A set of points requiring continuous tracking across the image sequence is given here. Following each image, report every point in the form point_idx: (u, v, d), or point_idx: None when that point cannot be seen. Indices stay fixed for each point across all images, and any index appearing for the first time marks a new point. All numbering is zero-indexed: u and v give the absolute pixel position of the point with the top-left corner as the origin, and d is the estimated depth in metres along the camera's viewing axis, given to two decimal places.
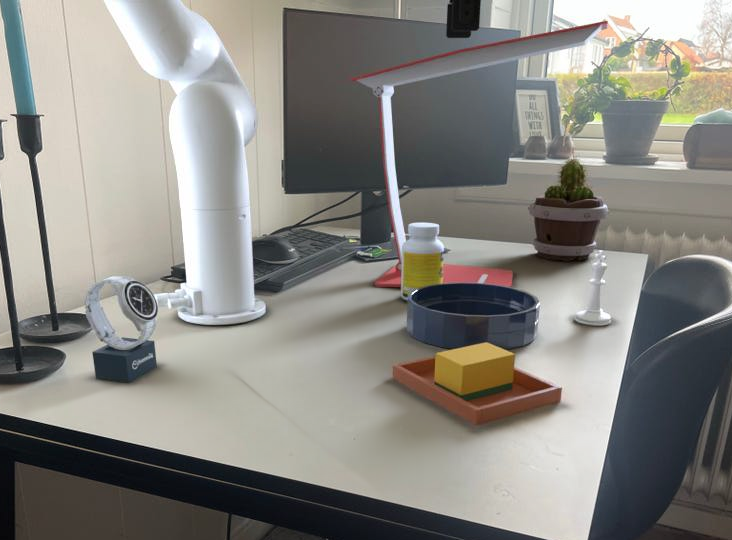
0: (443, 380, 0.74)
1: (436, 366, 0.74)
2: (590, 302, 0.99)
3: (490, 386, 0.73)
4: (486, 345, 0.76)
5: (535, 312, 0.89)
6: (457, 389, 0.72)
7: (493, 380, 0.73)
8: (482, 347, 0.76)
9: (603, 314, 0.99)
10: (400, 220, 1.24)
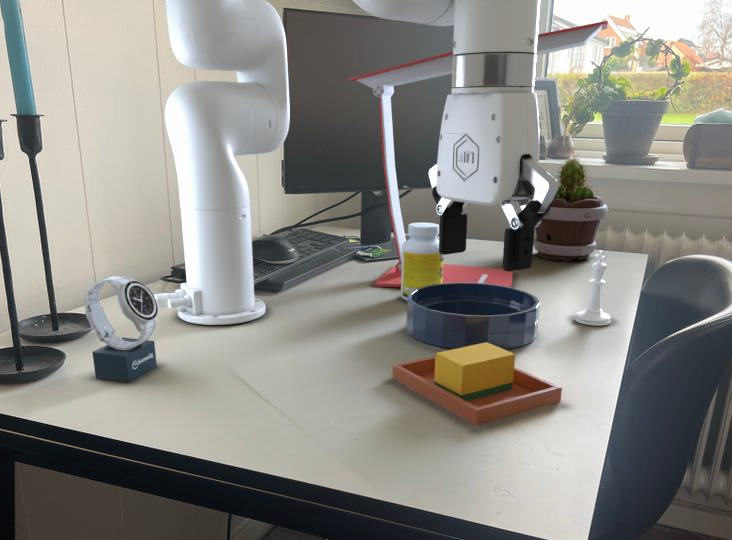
0: (443, 380, 0.74)
1: (436, 366, 0.74)
2: (590, 302, 0.99)
3: (490, 386, 0.73)
4: (486, 345, 0.76)
5: (535, 312, 0.89)
6: (457, 389, 0.72)
7: (493, 380, 0.73)
8: (482, 347, 0.76)
9: (603, 314, 0.99)
10: (400, 220, 1.24)
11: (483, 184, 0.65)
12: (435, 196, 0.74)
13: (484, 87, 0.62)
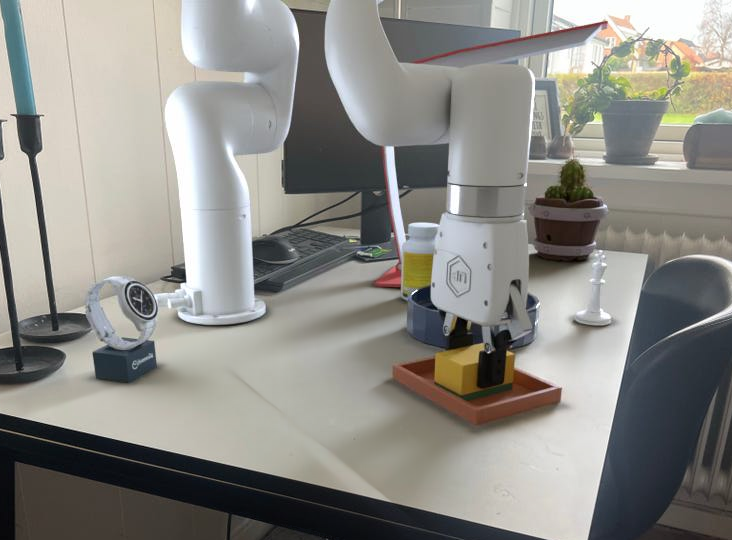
0: (443, 380, 0.74)
1: (436, 366, 0.74)
2: (590, 302, 0.99)
3: None
4: None
5: (535, 312, 0.89)
6: (457, 389, 0.72)
7: None
8: (482, 347, 0.76)
9: (603, 314, 0.99)
10: (400, 220, 1.24)
11: (475, 305, 0.68)
12: (442, 315, 0.76)
13: (476, 217, 0.66)
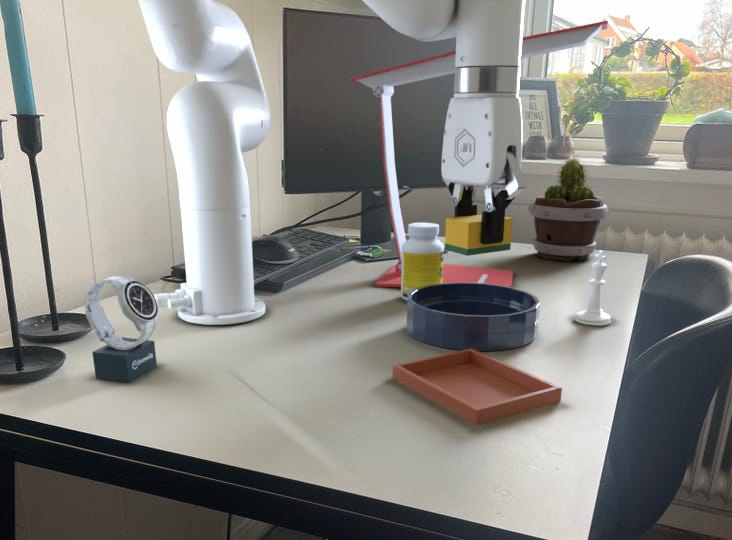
0: (452, 240, 0.88)
1: (446, 229, 0.89)
2: (590, 302, 0.99)
3: (491, 244, 0.88)
4: None
5: (535, 312, 0.89)
6: (464, 244, 0.86)
7: None
8: None
9: (603, 314, 0.99)
10: (400, 220, 1.23)
11: (478, 169, 0.83)
12: (451, 190, 0.91)
13: (479, 93, 0.80)
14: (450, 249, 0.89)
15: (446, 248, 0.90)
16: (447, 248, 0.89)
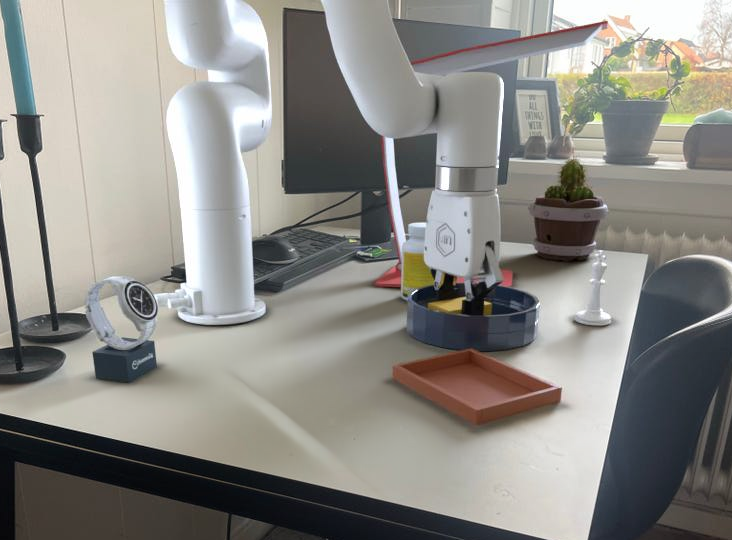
0: None
1: None
2: (590, 302, 0.99)
3: None
4: None
5: (535, 312, 0.89)
6: None
7: None
8: None
9: (603, 314, 0.99)
10: (400, 220, 1.23)
11: (458, 262, 0.86)
12: (433, 274, 0.94)
13: (458, 192, 0.84)
14: None
15: None
16: None
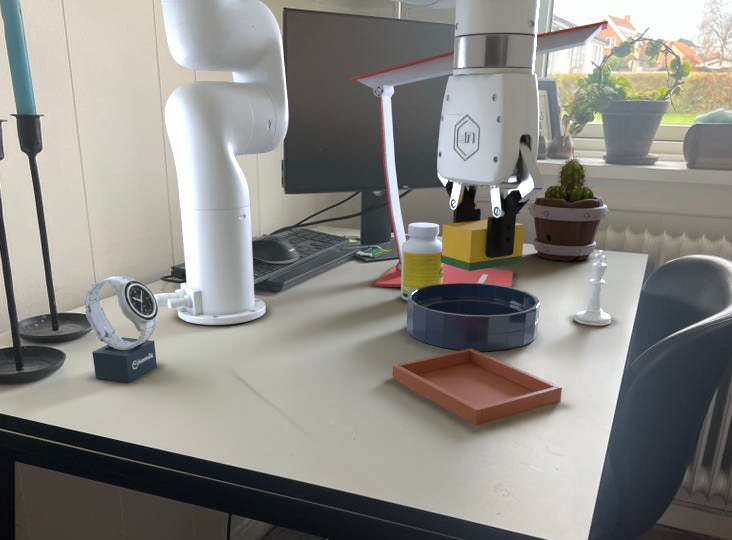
0: (451, 251, 0.72)
1: (443, 238, 0.72)
2: (590, 302, 0.99)
3: (499, 257, 0.71)
4: None
5: (535, 312, 0.89)
6: (465, 257, 0.70)
7: None
8: None
9: (603, 314, 0.99)
10: (400, 220, 1.24)
11: (483, 164, 0.66)
12: (449, 191, 0.74)
13: (485, 68, 0.64)
14: (448, 262, 0.72)
15: (443, 261, 0.73)
16: (444, 261, 0.73)
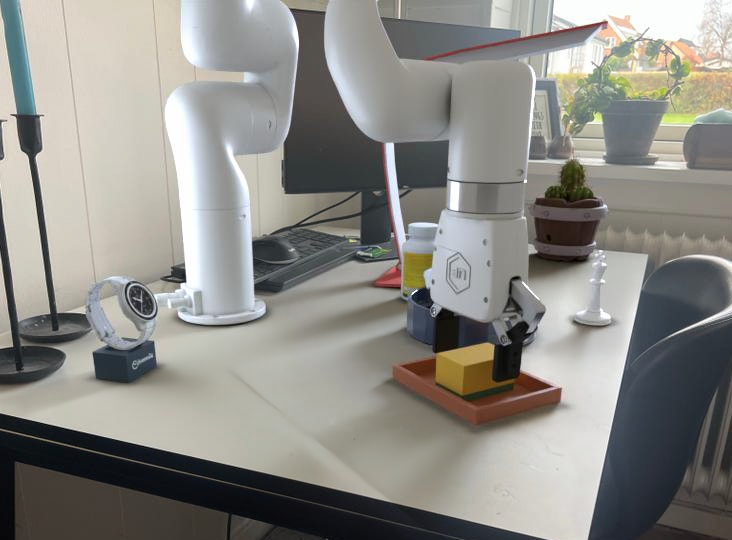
0: (444, 380, 0.74)
1: (437, 366, 0.74)
2: (590, 302, 0.99)
3: (491, 386, 0.73)
4: (488, 345, 0.76)
5: None
6: (458, 389, 0.72)
7: None
8: (483, 347, 0.76)
9: (603, 314, 0.99)
10: (400, 220, 1.24)
11: (474, 301, 0.68)
12: (430, 297, 0.78)
13: (476, 214, 0.65)
14: None
15: None
16: None
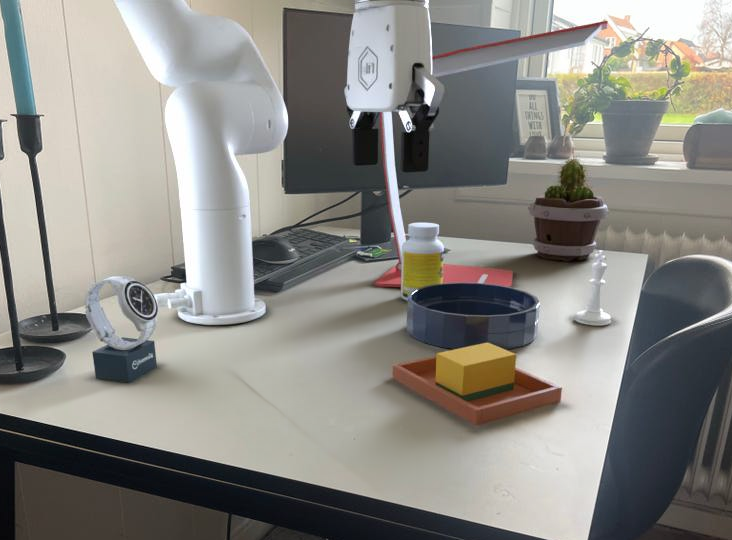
0: (444, 380, 0.74)
1: (437, 366, 0.74)
2: (590, 302, 0.99)
3: (491, 386, 0.73)
4: (488, 345, 0.76)
5: (535, 312, 0.89)
6: (458, 389, 0.72)
7: (494, 380, 0.73)
8: (483, 347, 0.76)
9: (603, 314, 0.99)
10: (400, 220, 1.24)
11: (381, 91, 0.72)
12: (350, 112, 0.81)
13: (379, 0, 0.69)
14: None
15: None
16: None
